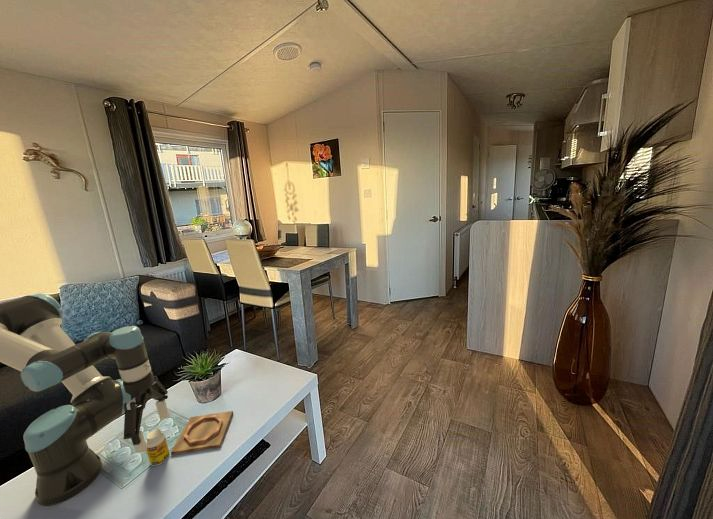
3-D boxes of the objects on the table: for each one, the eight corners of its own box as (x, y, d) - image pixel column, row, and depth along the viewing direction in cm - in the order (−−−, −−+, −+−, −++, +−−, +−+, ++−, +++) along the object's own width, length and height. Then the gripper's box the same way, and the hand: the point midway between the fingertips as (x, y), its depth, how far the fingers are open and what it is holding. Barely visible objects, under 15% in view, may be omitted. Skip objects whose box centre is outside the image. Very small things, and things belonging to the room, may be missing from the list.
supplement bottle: (150, 470, 95) (142, 444, 92) (150, 457, 99) (143, 432, 97) (170, 460, 98) (163, 435, 95) (169, 449, 102) (163, 424, 100)
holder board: (171, 455, 100) (169, 449, 99) (191, 419, 115) (189, 415, 115) (220, 447, 102) (219, 442, 101) (233, 413, 117) (232, 408, 117)
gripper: (124, 401, 79) (144, 464, 84) (169, 352, 104) (183, 404, 108) (94, 405, 79) (116, 469, 84) (147, 355, 103) (161, 407, 108)
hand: (153, 432), depth 96 cm, fingers open, 13 cm apart
